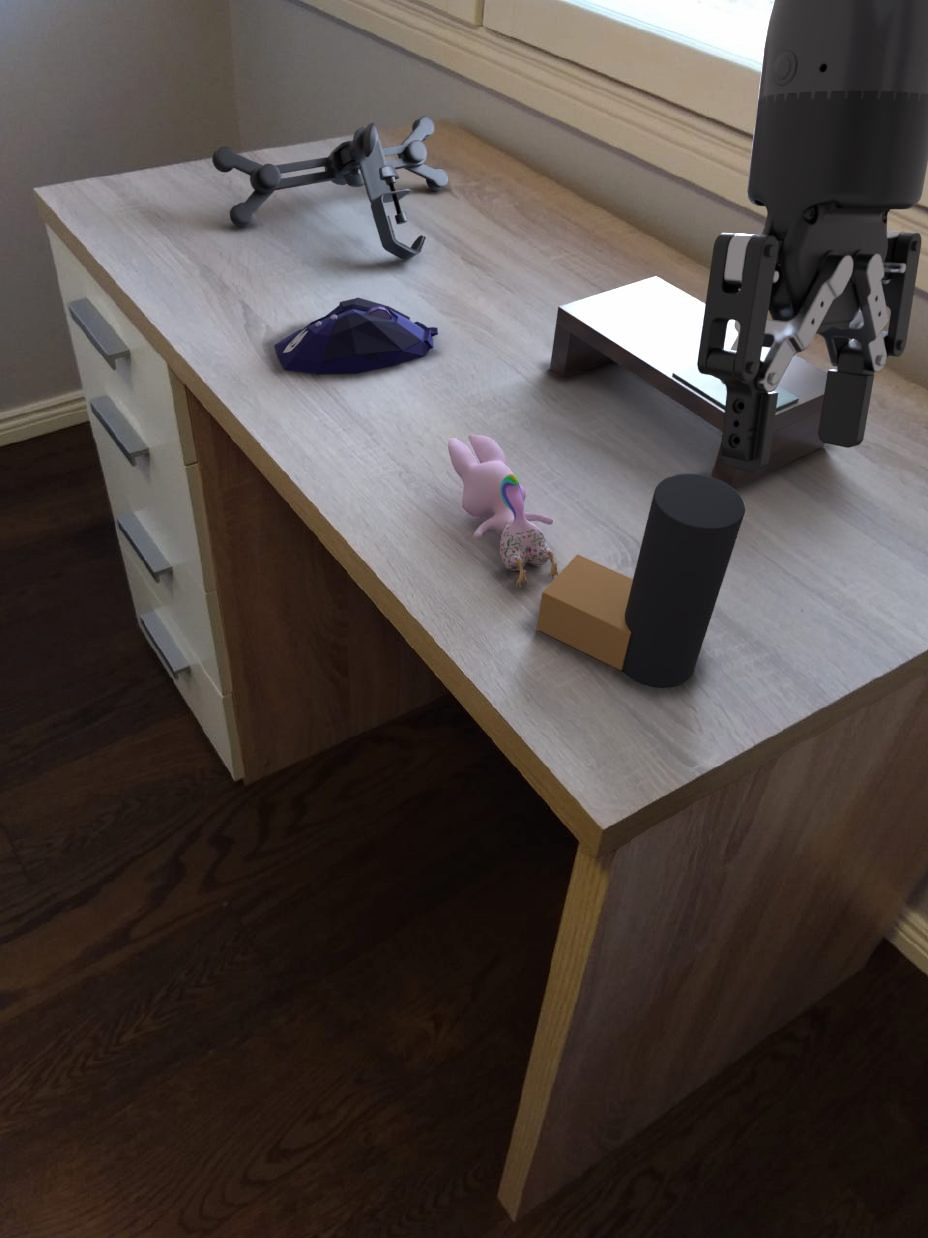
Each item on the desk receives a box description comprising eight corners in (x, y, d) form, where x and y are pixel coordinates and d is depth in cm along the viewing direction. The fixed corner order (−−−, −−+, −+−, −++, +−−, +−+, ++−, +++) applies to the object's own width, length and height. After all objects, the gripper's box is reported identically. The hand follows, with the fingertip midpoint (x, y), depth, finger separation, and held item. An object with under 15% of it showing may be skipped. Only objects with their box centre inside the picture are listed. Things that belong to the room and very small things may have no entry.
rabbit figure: (573, 587, 73) (495, 446, 81) (591, 532, 69) (506, 387, 77) (493, 606, 71) (421, 459, 79) (506, 550, 67) (428, 400, 75)
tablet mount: (464, 261, 123) (426, 117, 119) (527, 229, 110) (486, 68, 107) (257, 308, 111) (208, 151, 108) (301, 279, 99) (247, 100, 95)
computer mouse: (267, 329, 95) (264, 288, 92) (421, 314, 98) (423, 275, 96) (286, 381, 88) (283, 339, 86) (449, 363, 92) (452, 323, 89)
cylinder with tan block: (707, 652, 68) (759, 495, 59) (674, 700, 64) (724, 541, 55) (571, 589, 71) (600, 431, 62) (534, 631, 68) (559, 471, 59)
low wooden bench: (824, 446, 86) (848, 382, 82) (728, 491, 81) (748, 425, 76) (643, 334, 98) (656, 273, 94) (549, 367, 93) (558, 304, 89)
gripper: (839, 70, 38) (778, 497, 44) (1005, 97, 46) (934, 450, 53) (676, 82, 43) (642, 462, 49) (853, 105, 51) (805, 425, 58)
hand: (793, 455), depth 51 cm, fingers open, 8 cm apart
